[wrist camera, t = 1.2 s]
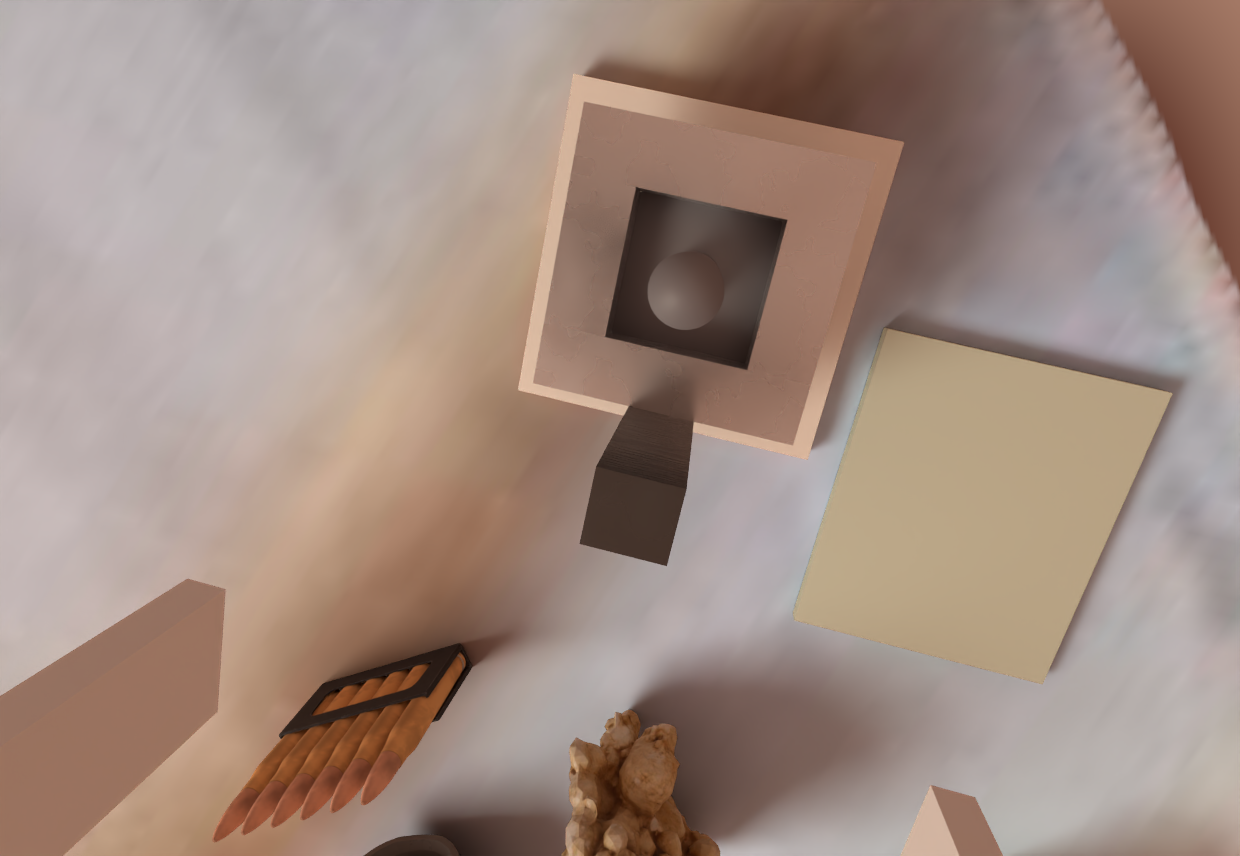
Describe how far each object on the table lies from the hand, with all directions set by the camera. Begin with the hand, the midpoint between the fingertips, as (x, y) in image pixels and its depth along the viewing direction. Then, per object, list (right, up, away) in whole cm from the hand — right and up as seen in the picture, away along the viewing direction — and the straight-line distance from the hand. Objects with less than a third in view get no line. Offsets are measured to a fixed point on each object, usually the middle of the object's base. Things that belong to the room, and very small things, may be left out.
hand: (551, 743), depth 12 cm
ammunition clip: (-13, -10, +32) cm, 37 cm away
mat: (+20, +1, +25) cm, 32 cm away
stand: (+5, +14, +23) cm, 28 cm away
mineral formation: (+3, -16, +32) cm, 36 cm away
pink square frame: (+4, +11, +19) cm, 22 cm away
